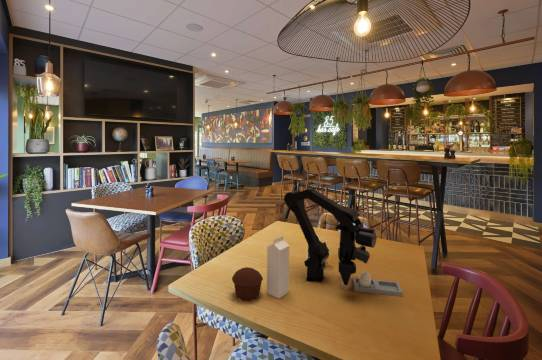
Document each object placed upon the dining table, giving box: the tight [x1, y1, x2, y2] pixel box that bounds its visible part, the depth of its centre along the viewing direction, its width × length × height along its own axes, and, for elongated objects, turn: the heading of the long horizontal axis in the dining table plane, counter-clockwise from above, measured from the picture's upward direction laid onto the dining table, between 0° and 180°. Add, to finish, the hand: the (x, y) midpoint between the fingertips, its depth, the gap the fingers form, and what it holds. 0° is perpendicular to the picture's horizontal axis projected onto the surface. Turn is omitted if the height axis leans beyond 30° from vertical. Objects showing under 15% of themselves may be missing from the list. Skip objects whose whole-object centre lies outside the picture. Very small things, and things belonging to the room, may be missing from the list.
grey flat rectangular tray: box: [352, 277, 403, 297], centre depth 115 cm, size 17×8×2 cm, turn 78°
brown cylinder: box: [339, 275, 352, 291], centre depth 115 cm, size 4×4×6 cm
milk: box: [266, 235, 290, 299], centre depth 110 cm, size 6×6×22 cm
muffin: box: [231, 266, 264, 302], centre depth 109 cm, size 12×11×10 cm
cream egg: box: [358, 271, 372, 288], centre depth 115 cm, size 4×4×6 cm
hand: (345, 279), depth 115 cm, fingers open, 9 cm apart
